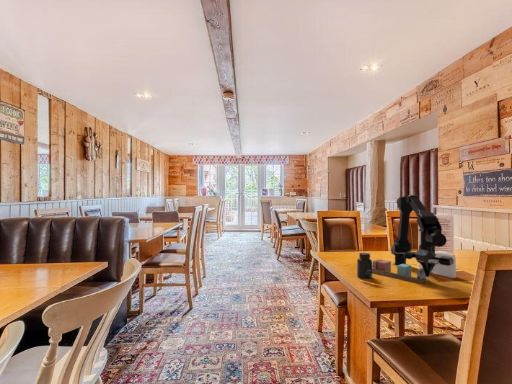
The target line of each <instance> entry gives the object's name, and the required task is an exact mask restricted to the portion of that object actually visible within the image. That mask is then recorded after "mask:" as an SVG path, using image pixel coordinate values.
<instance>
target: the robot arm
mask: <svg viewBox="0 0 512 384" xmlns="http://www.w3.org/2000/svg"><path fill="white" fill-rule="evenodd" d="M396 207H397V208H398V210H399V212H400V213H399V220H398V221H399V223H398V224H399V225H398V233H397V234H398V235H397V236H396V238H395V239H394V242H393V244H392V247H391V249H390V254H391V255H393V256H394V263H392V265H394V266H398V265H400V264H407V265H409V264H408V263H407V260H412V259H415V261H416V263H419V264H420V265H421V268H423V269H424V272H425V274H426V278H429V277H430V276H431V274H432V270H433V268H434V266H435V265H436V264H438V263H440V264H441V265H446V266H450V265H452V264H454V260H453V258H452V257H445V256H442V257H440V258H439V257H435V256H436V254H435V251H436V248H437V247H438V248H440V247H444V246H445V245H446V244H447V242H448V241H447V240H448V239H447V237H446V235H445V234H443V233H442V231H443V229H442V228H443V227H442V225H441V223H440V221H439V219H438V217H437V216H436V215H435V214H434V213H433V212H431V211H430V210H428V209H427V208H426V207H425V205H424V203H423V202H422V200H421V199H420V196H419V195H417V194H409V195H405V196H400V197H398V198H397V200H396ZM412 212H414V213H415V215H416V216H417V218H416V223H417V226H418V227H419V228H420V229H419V230H418V231H419V232H420V235H419V236H420V242H419V246H418V249H417V250H416V251H411V250H412V243H411V242H410V240H409V226H410V217H411V213H412Z"/></svg>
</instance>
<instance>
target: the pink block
mask: <svg viewBox="0 0 512 384" xmlns="http://www.w3.org/2000/svg"><path fill="white" fill-rule="evenodd" d="M391 265H392V261H390V260H385V259H382V261H378V262H377V269H378V270H382V271H387V272H391V273H392V266H391Z"/></svg>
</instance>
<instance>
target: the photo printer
mask: <svg viewBox="0 0 512 384" xmlns="http://www.w3.org/2000/svg"><path fill="white" fill-rule="evenodd" d="M435 254H436V256H435V257H439V258H440V257H442V256H445V257H452V258H453V260H454V264H452V265H450V266H446V265H441V264H440V263H438V264H436V265H435V266H434V268H433V270H432V272H431V274H435V275H438V276H442V277H446V278H449V279H450V278H451V279H456V277H457V267H456V266H457V265H456V264H457V263H456V262H457V261H456V259H457V257H456V255H455V254H453V253H451V252H449V251H445V250H435Z"/></svg>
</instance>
